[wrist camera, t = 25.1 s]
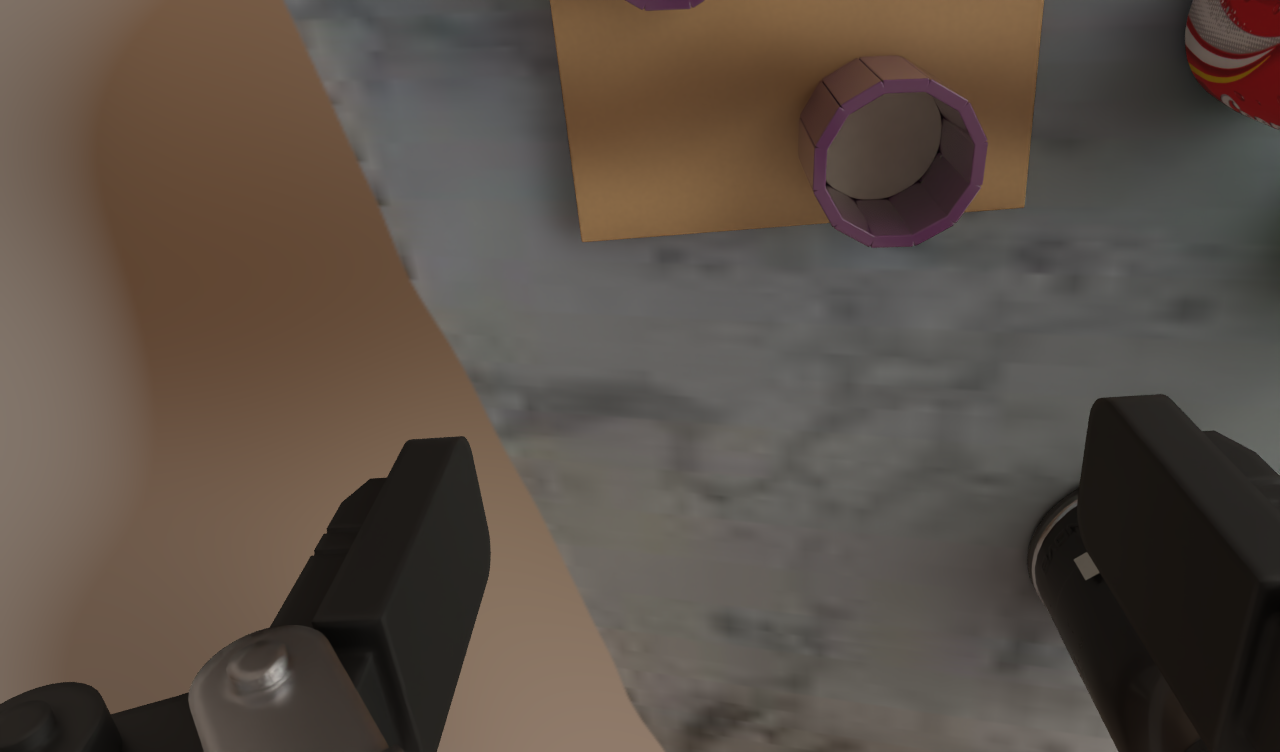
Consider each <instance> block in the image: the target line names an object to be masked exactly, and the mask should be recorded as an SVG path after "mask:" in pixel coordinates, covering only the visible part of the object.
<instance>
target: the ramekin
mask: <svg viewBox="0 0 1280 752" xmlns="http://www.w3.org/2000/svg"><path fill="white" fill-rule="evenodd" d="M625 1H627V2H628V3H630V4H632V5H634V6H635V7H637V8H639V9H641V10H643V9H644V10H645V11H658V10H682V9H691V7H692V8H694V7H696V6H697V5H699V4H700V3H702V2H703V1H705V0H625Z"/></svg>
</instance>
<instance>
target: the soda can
mask: <svg viewBox="0 0 1280 752" xmlns="http://www.w3.org/2000/svg"><path fill="white" fill-rule="evenodd" d="M1185 48H1186V55H1187V60H1188V63H1189V66H1190V68H1191V71H1192V73H1193V75H1194V76H1195V78H1196V80H1197V81H1198V83H1199V84H1200V85H1201V86H1202V87H1203V88H1204V89H1205V90H1206V91H1207V92H1208V93H1209V94H1211V95H1212V96H1214V97H1215V98H1216V99H1218V100H1219V101H1221V102H1222V103H1224V104H1225V105H1227V106H1228V107H1230V108H1232V109H1233V110H1235V111H1236V112H1239V113H1241V114H1243V115H1245V116H1247V117H1250V118H1252V119H1254V120H1257V121H1259V122H1261V123H1264V124H1266V125H1268V126H1271V127H1273V128H1276V129H1278V130H1280V0H1193V1H1192V4H1191V8H1190V11H1189V14H1188V18H1187V24H1186V30H1185Z"/></svg>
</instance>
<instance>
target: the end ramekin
mask: <svg viewBox="0 0 1280 752" xmlns="http://www.w3.org/2000/svg"><path fill="white" fill-rule="evenodd" d="M987 147H988V142H987V137H986V135H985V133H984V131H983V129H982V127H981V124H980V122H979V120H978V118H977V116H976V114H975V112H974V109H973V107H972V105H971V103H970V102H969V101H968V100H967V99H966V98H964V97H963V96H962V95H960V94H959V93H958V92H956V91H955V90H954V89H952V88H951V87H949V86H948V85H947V84H945V83H944V82H943V81H941V80H940V79H938V78H937V77H936V76H934V75H933V74H931V73H930V72H928V71H926V70H924V69H923V68H921V67H919V66H918V65H916V64H914V63H913V62H911V61H909V60H907V59H906V58H904V57H902V56H898V55H893V56H868V57H859V59H858V58H855V59H854V60H852V61H851V62H849V63H847V64H846V65H844V66H842V67H841V68H839V69H837V70H836V71H834V72H833V73H831V74H829V75H828V76H826V77H824V78H823V79H822V81H820V82H819V84H818V85H817V87H816V89H815V90H814V92H813V94H812V96H811V97H810V99H809V101H808V102H807V104H806V106H805V107H804V109H803V111H802V112H801V114H800V118H799V135H798V156H799V160H800V162H801V165H802V167H803V169H804V172H805V174H806V177H807V179H808V181H809V184H810V186H811V188H812V191H813V193H814V195H815V197H816V199H817V200H818V202H819V204H820V206H821V207H822V209H823V211H824V213H825V215H826V216H827V218H828V220H829V222H830V223H831V225H832V226H833V227H834V228H835V229H836V230H838V231H840V232H842V233H844V234H845V235H847V236H849V237H851V238H853V239H855V240H857V241H858V242H860V243H862V244H864V245H866V246H868V247H870V246H871V247H872V248H877V247H912V246H913V245H915V246H916V245H918V244H920V243H922V242H924V241H925V240H927V239H929V238H931V237H933V236H935V235H937V234H938V233H940V232H942V231H944V230H946V229H948V228H949V227H951V226H953V225H954V223H956V222H957V221H958V220H959V218H960V217H961V215H962V214H963V213H964V211H965V210H966V208H967V207H968V206H969V204H970V203H971V201H972V200H973V199H974V197H975V196H976V194H977V193H978V192H979V190H980V189H981V185H983V178H984V170H985V163H986V155H987Z"/></svg>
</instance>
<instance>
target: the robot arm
mask: <svg viewBox="0 0 1280 752" xmlns="http://www.w3.org/2000/svg"><path fill="white" fill-rule="evenodd" d="M314 551H315V555H314V556H311V557H310V559H309V560H308V562H307V564H306V566H305V568H304V569H303V571H302V572H301V574H300V576H299V578H298V579H297V581H296V583H295V585H294V586H293V588H292V590H291V592H290V593H289V595H288V597H287V598H286V600H285V602H284V604H283V605H282V608H281V609H280V611H279V612H278V614H277V616H276V618H275V619H274V621H273V623H272V624H271V626H270V628H266V629H263V630H259V631H256V632H254V633H251V634H248V635H246V636H244V637H242V638H240V639H238V640H236V641H234V642H232V643H231V644H229V645H228V646H226V647H224V648H223V649H222V650H220V651H219V652H218V653H217V654H215V655H214V656H213V657H212V658H211V659H210V660H209V661H208V662H207V663H206V664H205V665H204V666H203V667H202V668H201V669H200V671H199V672H198V673H197V675H196V677H195V678H194V680H193V682H192V685H191V687H190V690H189V692H188V693H185V694H182V695H179V696H176V697H172V698H169V699H165V700H162V701H158V702H154V703H151V704H147V705H144V706H140V707H137V708H133V709H129V710H125V711H122V712H118V713H115V714H110V712H109V710H108V708H107V706H106V704H105V702H104V700H103V698H102V696H101V695H100V693H99V692H98V691H97V690H96V689H94V688H93V687H92V686H89V685H86V684H83V683H76V682H63V683H56V684H50V685H46V686H42V687H39V688H35V689H33V690H30V691H27V692H24V693H22V694H20V695H18V696H16V697H13V698H11V699H9V700H7V701H5V702H4V703H2V704H0V752H437V749H438V746H439V742H440V739H441V736H442V732H443V729H444V725H445V722H446V719H447V715H448V712H449V709H450V705H451V702H452V699H453V695H454V692H455V688H456V685H457V682H458V678H459V675H460V672H461V668H462V664H463V661H464V658H465V655H466V651H467V648H468V644H469V641H470V638H471V634H472V631H473V628H474V624H475V621H476V617H477V614H478V611H479V607H480V604H481V601H482V597H483V594H484V590H485V587H486V584H487V580H488V576H489V570H490V553H491V552H490V537H489V531H488V526H487V521H486V516H485V512H484V507H483V502H482V497H481V493H480V488H479V483H478V479H477V474H476V470H475V465H474V460H473V455H472V451H471V448H470V445H469V443H468V441H467V439H466V438H465V437H463V436H460V437H444V438H429V439H412V440H408V441H407V442H406V443H405V444H404V446H403V448H402V450H401V452H400V454H399V456H398V458H397V460H396V461H395V463H394V465H393V467H392V469H391V471H390V473H389V475H388V477H387V478H375V479H369V480H368V481H367V482H366V483H365V484H363V485H362V486H361V487H360V488H359V489H358V490H356V491H355V492H354V493H353V494H351V496H349V497H348V498H347V499H345V500H344V501H343V502H342V503H341V505H340V507H339V508H338V510H337V512H336V513H335V515H334V517H333V519H332V520H331V522H330V524H329V526H328V528H327V534H323V536H322V538H321V540H320V541H319V543H318V545H317V546H316V548H315V550H314ZM1027 565H1028V572H1029V577H1030V579H1031V582H1032V584H1033V586H1034V588H1035V590H1036V592H1037V594H1038V596H1039V598H1040V600H1041V601H1042V603H1043V604H1044V606H1045V607H1046V608H1047V610H1048V612H1049V614H1050V616H1051V618H1052V620H1053V622H1054V624H1055V626H1056V628H1057V630H1058V632H1059V634H1060V636H1061V638H1062V640H1063V642H1064V644H1065V646H1066V648H1067V650H1068V652H1069V654H1070V656H1071V658H1072V660H1073V662H1074V664H1075V666H1076V668H1077V670H1078V672H1079V674H1080V676H1081V678H1082V680H1083V682H1084V684H1085V686H1086V688H1087V690H1088V692H1089V694H1090V696H1091V698H1092V700H1093V702H1094V704H1095V706H1096V708H1097V710H1098V712H1099V714H1100V716H1101V718H1102V720H1103V722H1104V724H1105V726H1106V728H1107V730H1108V732H1109V734H1110V736H1111V738H1112V740H1113V742H1114V744H1115V746H1116V748H1117V750H1118V752H1280V476H1279V475H1278V474H1277V473H1276V472H1275V471H1274V470H1273V469H1272V468H1271V467H1270V466H1269V465H1268V464H1267V463H1266V462H1265V461H1264V460H1263V459H1262V458H1261V457H1260V456H1259V455H1258V454H1257V453H1256V452H1254V451H1252V450H1250V449H1248V448H1246V447H1244V446H1242V445H1241V444H1239V443H1237V442H1235V441H1233V440H1231V439H1229V438H1227V437H1225V436H1223V435H1221V434H1220V433H1218V432H1216V431H1201V430H1200V429H1199V428H1198V427H1197V426H1196V425H1195V424H1194V423H1193V422H1192V421H1191V420H1190V418H1189V417H1188V416H1187V415H1186V414H1185V413H1184V412H1183V411H1182V410H1181V409H1180V408H1179V407H1178V406H1177V405H1176V404H1175V403H1174V402H1173V401H1172V400H1171V399H1170V398H1169V397H1168V396H1166V395H1163V394H1156V395H1140V396H1124V397H1108V398H1099V399H1097V400H1096V401H1095V402H1094V404H1093V406H1092V408H1091V411H1090V415H1089V421H1088V429H1087V436H1086V443H1085V450H1084V457H1083V464H1082V472H1081V479H1080V486H1079V489H1078V490H1076V491H1074V492H1073V493H1071V494H1069V495H1068V496H1067V497H1065V498H1064V499H1063V500H1061V501H1060V502H1059V503H1058V504H1057V505H1055V506H1054V507H1053V508H1052V509H1051V510H1050V511H1049V512H1048V514H1047V515H1046V516H1045V517H1044V518H1043V520H1042V521H1041V523H1040V524H1039V526H1038V527H1037V529H1036V531H1035V533H1034V535H1033V537H1032V540H1031V542H1030V546H1029V550H1028V557H1027Z"/></svg>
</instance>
